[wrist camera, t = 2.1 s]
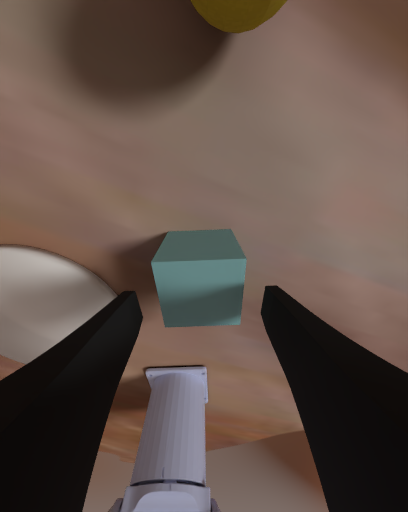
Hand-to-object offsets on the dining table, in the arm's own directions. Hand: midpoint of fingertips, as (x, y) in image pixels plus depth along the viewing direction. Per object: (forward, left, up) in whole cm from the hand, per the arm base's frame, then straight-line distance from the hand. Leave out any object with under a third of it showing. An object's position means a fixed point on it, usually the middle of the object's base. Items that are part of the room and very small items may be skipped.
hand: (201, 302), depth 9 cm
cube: (0, 0, -6) cm, 6 cm away
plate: (-6, +16, -5) cm, 18 cm away
